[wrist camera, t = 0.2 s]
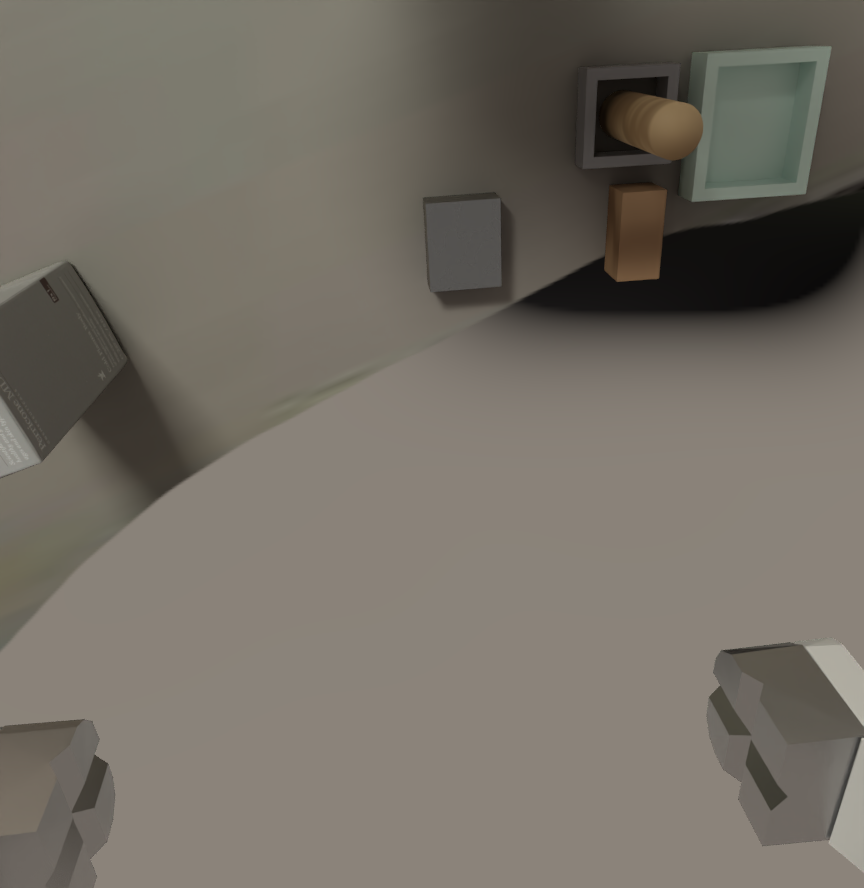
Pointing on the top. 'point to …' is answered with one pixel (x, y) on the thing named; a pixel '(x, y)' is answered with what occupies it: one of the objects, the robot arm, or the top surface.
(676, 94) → the socket
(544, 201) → the top surface
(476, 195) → the steel block
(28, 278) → the skincare box
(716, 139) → the tray
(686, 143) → the dowel
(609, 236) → the block
